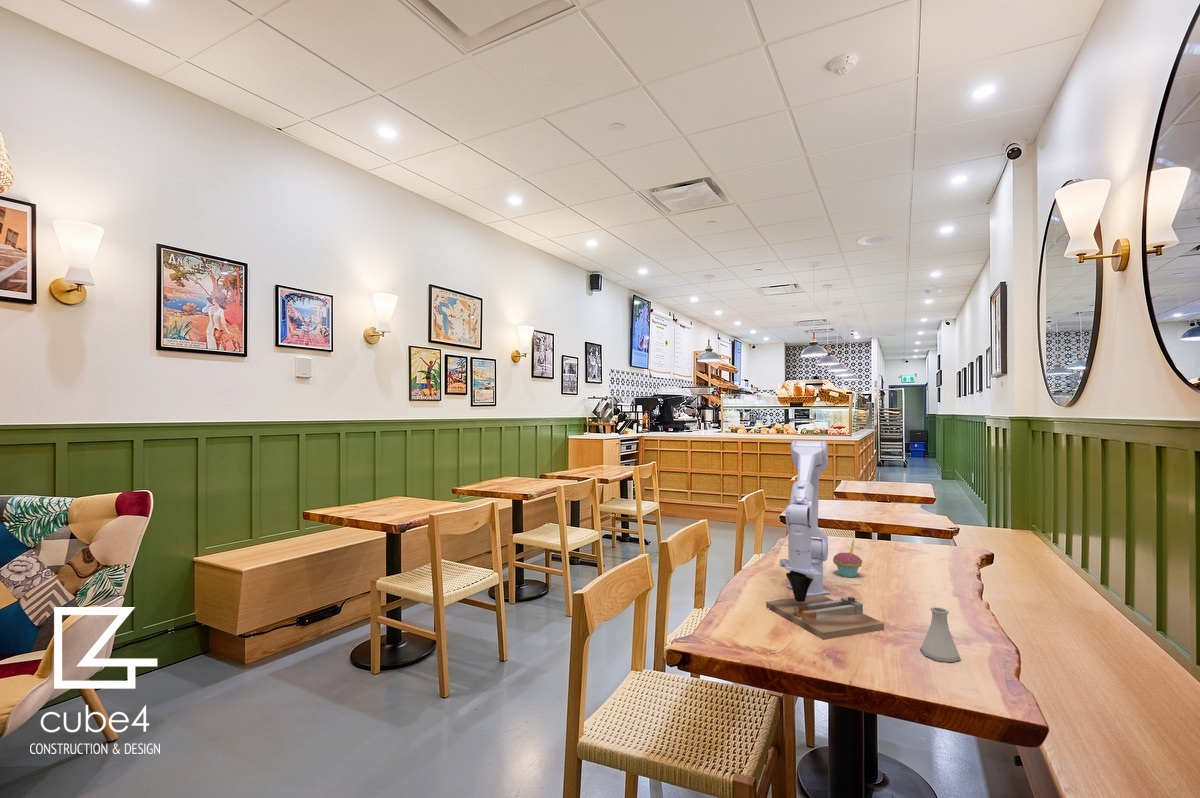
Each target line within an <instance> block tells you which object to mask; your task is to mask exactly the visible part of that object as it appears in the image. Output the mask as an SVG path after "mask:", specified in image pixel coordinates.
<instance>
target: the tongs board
mask: <svg viewBox="0 0 1200 798" xmlns="http://www.w3.org/2000/svg"><path fill="white" fill-rule="evenodd" d="M833 600H834V599H832V598H830V597H828V596H825V595H824V594H822V595H821V594H820V595H813V596H806V598H805V601H803V602H798V601H796V600H795V597H792V598H786V599H785V598H784V599H777V600H776V599H775V600H769V601H765V604H766V605H765V608H766V607H767V608H766V609H768V608H769V610H770V611H772V612H774V613H775V612H776V613H775V614H777V615H779V616H781V617H783V618H784V619H786V620H788V621H790V622H791V623H793V624H795V625H797V626H799V627H800V628H803V629H804V630H806V631H808V632H809V633H811V634H813V635H815V636H817V637H819V638H820V639H822V640H828V639H835V638H840V637H841V638H842V637H846V636H847V637H848V636H853V635H858V634H864V633H865V634H866V633H870V632H875V631H883V630H885V622H882V621H880V620H879V619H875V618H873V617H872V616H870V615H867V614H865V613H864V611H863V610H864V606H863V605H864V604H863V603H862V602H859V601H858V600H856V598H855V597H853V596H848V597H847V596H845V597H840V600H841V601H843V606H838V607H831V608H825V609H818V610H807V611H802V616H797V615H795V614H794V606H796V605H803V604H804V605H806V604H813V603H820V602H827V601H833Z"/></svg>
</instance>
